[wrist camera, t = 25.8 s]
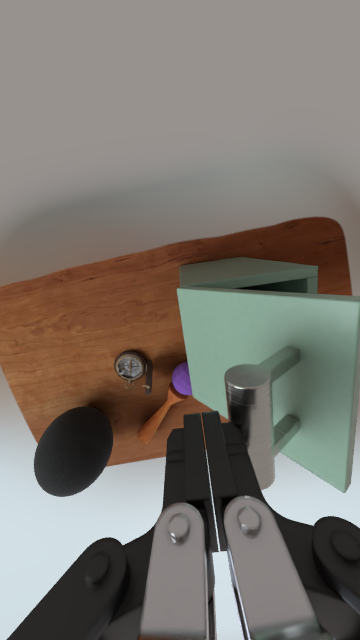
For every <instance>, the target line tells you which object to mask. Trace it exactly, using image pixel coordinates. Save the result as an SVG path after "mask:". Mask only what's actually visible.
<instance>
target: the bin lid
mask: <svg viewBox="0 0 360 640" xmlns="http://www.w3.org/2000/svg"><path fill="white" fill-rule="evenodd" d="M177 294H178V301H179V308H180V314H181V321H182V328H183V334H184V341H185V348H186V354H187V361H188V367H189V374H190V381H191V387H192V394H193V397H194V398H195V399H197V400H199V401H200V402H202V403H203V404H205V405H206V406H208V407H210V408H211V409H213V410H214V411H218V412H219V414H221V415H222V416H224V417H225V418H227V419H228V421H229V422H233V423H234V424H235V425H236V426H237V427H238V428H239V429H240V430H241V433H242V435H243V438H244V441H245V444H246V447H247V450H248V454H249V456H250V459H251V462H252V465H253V468H254V471H255V474H256V477H257V480H258V483H259V486H260V489H261V490H263V489H266V488H268V487H269V486H270V485H271V484H272V483H273V481H274V479H275V456H276V455H277V454H278V453H279V452H280V453H282V454H283V455H285V456H287V457H288V458H290V459H291V460H293V461H294V462H296V463H298V464H299V465H301V466H302V467H304V468H305V469H307V470H308V471H310V472H312V473H313V474H315V475H316V476H318V477H319V478H321V479H323V480H324V481H326V482H327V483H329V484H330V485H332V486H334V487H335V488H337V489H338V490H340V491H342V492H343V493H345V492H346V491H347V489H348V487H349V485H350V484H351V474H352V464H353V453H354V443H355V433H356V422H357V412H358V401H359V390H360V296H345V295H328V294H310V293H293V292H275V291H258V290H240V289H223V288H205V287H188V286H183V287H180V288H177Z"/></svg>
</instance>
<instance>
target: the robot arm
mask: <svg viewBox="0 0 360 640" xmlns="http://www.w3.org/2000/svg"><path fill="white" fill-rule="evenodd" d="M202 419H203V427H204V434H205V442H206V449H207V457H208V464H209V472H210V479H211V487H212V494H213V501H214V508H215V515H216V522H217V529H218V537H219V543H220V551H227V555H228V561H229V567H230V573H231V581H232V588H233V593H234V598H235V602H236V607H237V612H238V617H239V622H240V626H241V631H242V635H243V640H360V528H358V527H357V526H356V525H354V524H352V523H351V522H349V521H347V520H344V519H342V518H339V517H334V516H328V517H323V518H321V519H319V520H318V521H317V522H316V523H315V525H314V526H312V525H308V524H304V523H300V522H296V521H293V520H290V519H287V518H285V517H283V516H281V515H280V514H278V513H277V512H275V511H274V510H273V509H272V508H271V507H270V506H269V505H268V503H267V502H266V500H265V499H264V497H263V494H262V492H261V489H260V486H259V483H258V480H257V477H256V474H255V471H254V468H253V465H252V462H251V459H250V456H249V454H248V450H247V447H246V444H245V441H244V438H243V435H242V433H241V430H240V429H239V428H238V427H237V426H236V425H235V424H234V423H233V422H228V423H221V420H220V416H219V412H218V411H210V412H202ZM213 552H219V551H218V544H217V536H216V528H215V520H214V513H213V505H212V497H211V490H210V481H209V473H208V466H207V458H206V450H205V443H204V436H203V429H202V422H201V415H200V413H195V414H186V415H184V428H179V429H173V430H172V432H171V434H170V435H169V437H168V439H167V454H166V467H165V482H164V497H163V508H162V512H161V514H160V516H159V518H158V520H157V522H156V523H155V525H154V526H153V527H152V528H151V530H149V531H148V532H147V533H146V534H144V535H142V536H140V537H139V538H137V539H135V540H133V541H131V542H129V543H127V544H125V545H122V544H121V543H120V542H119V541H118V540H116V539H114V538H110V537H109V538H102V539H100V540H97V541H96V542H94V543H92V544H91V545H90V546H89V547H88V548H87V549H86V550H85V551H84V552H83V553H82V554H81V555H80V556H79V557H78V559H77V560H76V561H75V562H74V563H73V564H72V565H71V567H70V568H69V569H68V570H67V571H66V572H65V574H64V575H63V576H62V577H61V578H60V579H59V581H58V582H57V583H56V584H55V585H54V586H53V587H52V588H51V590H50V591H49V592H48V593H47V594H46V595H45V596H44V598H43V599H42V600H41V601H40V602H39V603H38V605H37V606H36V607H35V608H34V609H33V610H32V611H31V612H30V614H29V615H28V616H27V617H26V618H25V619H24V621H23V622H22V623H21V624H20V625H19V626H18V627H17V629H16V630H15V631H14V632H13V633H12V634H11V635H10V637H9V638H8V639H7V640H217V634H216V614H215V594H214V585H215V576H214V566H213V557H212V553H213Z"/></svg>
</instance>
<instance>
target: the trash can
mask: <svg viewBox="0 0 360 640" xmlns="http://www.w3.org/2000/svg"><path fill="white" fill-rule="evenodd" d="M179 268H180V287H183V286H188V287H205V288H223V289H240V290H258V291H275V292H293V293H310V294H317V286H318V277H317V276H318V266H312V265H304V264H296V263H288V262H279V261H271V260H263V259H255V258H247V257H236V258H229V259H222V260H216V261H209V262H202V263H196V264H189V265H182V266H179Z"/></svg>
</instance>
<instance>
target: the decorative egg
mask: <svg viewBox="0 0 360 640" xmlns="http://www.w3.org/2000/svg"><path fill="white" fill-rule="evenodd" d="M112 446H113V431H112V427H111V424H110V422H109V420H108V418H107V417H106V416H105V414H104V413H102V412H101V411H100V410H98V409H96V408H93V407H86V406H84V407H77V408H73V409H71V410H68V411H67V412H65V413H63V414H62V415H60V416H59V417H58V418H56V419H55V420H54V421H53V422H52V423H51V424H50V425H49V427H48V428H47V429H46V431H45V432H44V434H43V435H42V437H41V439H40V441H39V443H38V446H37V449H36V452H35V458H34V472H35V476H36V479H37V481H38V483H39V485H40V486H41V487H42V489H43V490H44V491H46V492H47V493H49V494H51V495H54V496H59V497H65V496H71V495H74V494H77V493H79V492H81V491H83V490H84V489H86V488H87V487H89V486H90V485H91V484H92V483H93V482H94V481H95V480H96V479H97V478H98V477H99V475H100V474H101V473H102V471H103V470H104V468H105V466H106V465H107V462H108V460H109V458H110V455H111V451H112Z"/></svg>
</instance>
